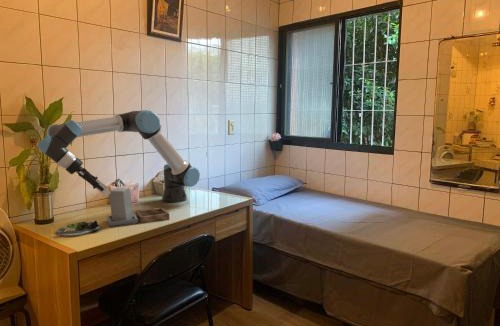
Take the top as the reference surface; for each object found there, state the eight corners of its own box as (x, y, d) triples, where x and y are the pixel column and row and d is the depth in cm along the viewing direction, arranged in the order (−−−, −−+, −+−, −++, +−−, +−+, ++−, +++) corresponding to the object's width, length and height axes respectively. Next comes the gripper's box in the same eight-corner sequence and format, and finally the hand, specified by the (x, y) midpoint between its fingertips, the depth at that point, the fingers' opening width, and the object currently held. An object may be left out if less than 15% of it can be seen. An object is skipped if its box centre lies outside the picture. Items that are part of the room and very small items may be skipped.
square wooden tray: (163, 213, 202) (162, 207, 202) (169, 219, 189) (169, 213, 189) (136, 216, 196) (135, 210, 195) (140, 223, 183) (140, 217, 183)
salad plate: (63, 242, 158) (62, 231, 157) (46, 233, 170) (46, 223, 169) (106, 231, 172) (106, 221, 172) (88, 224, 184) (88, 215, 183)
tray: (133, 217, 194) (133, 212, 193) (138, 223, 182) (137, 218, 182) (107, 220, 188) (106, 215, 188) (109, 227, 176) (109, 222, 176)
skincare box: (133, 219, 187) (132, 187, 185) (125, 222, 180) (123, 190, 178) (119, 218, 189) (117, 187, 187) (110, 221, 182) (108, 190, 180)
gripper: (64, 166, 182) (99, 193, 190) (64, 172, 160) (104, 203, 168) (75, 154, 183) (110, 182, 192) (77, 159, 161) (115, 190, 170)
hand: (107, 191), depth 180 cm, fingers open, 13 cm apart
